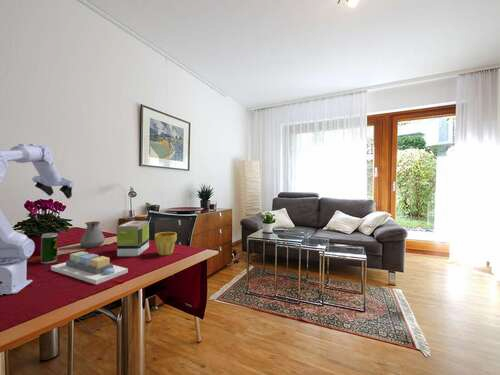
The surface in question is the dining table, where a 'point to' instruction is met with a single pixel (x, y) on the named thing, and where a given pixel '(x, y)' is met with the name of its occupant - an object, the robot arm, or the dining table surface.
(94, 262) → the ochre button
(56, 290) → the dining table surface
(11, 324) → the dining table surface
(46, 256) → the beer can
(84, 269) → the white rectangular tray
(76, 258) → the sage button
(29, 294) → the dining table surface
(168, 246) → the plant pot
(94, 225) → the coffee pot
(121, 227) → the tea box
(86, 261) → the blue button
